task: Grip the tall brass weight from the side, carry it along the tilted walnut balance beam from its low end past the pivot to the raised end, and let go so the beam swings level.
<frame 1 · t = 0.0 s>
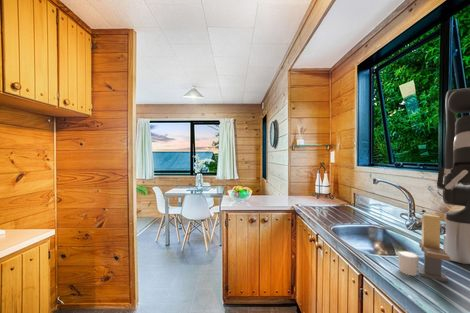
beam stand: (432, 275, 92), on the counter
beige short cylinder: (408, 272, 95), on the counter
brass weight: (430, 246, 97), point 10 cm above the counter, tilted 5°, touching beam
beam: (432, 250, 92), point 9 cm above the counter, hinge at 6.3°, touching brass weight
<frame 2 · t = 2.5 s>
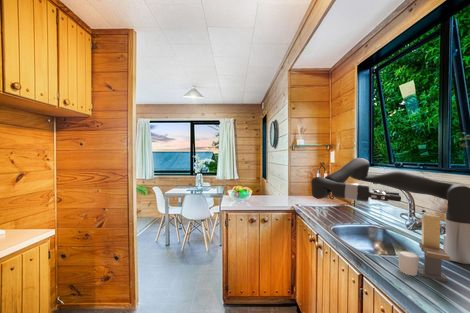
hand: (400, 197, 102), 28 cm above the counter, tool horizontal, fingers open, 8 cm apart
nothing on the counter moved.
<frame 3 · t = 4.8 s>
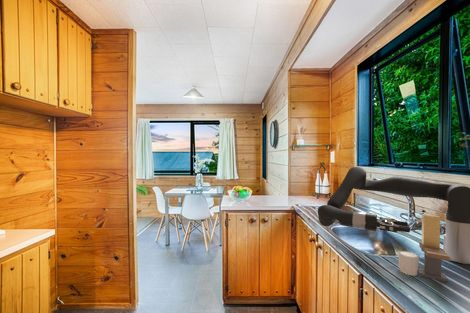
hand: (408, 227, 100), 16 cm above the counter, tool horizontal, fingers open, 8 cm apart
nothing on the counter moved.
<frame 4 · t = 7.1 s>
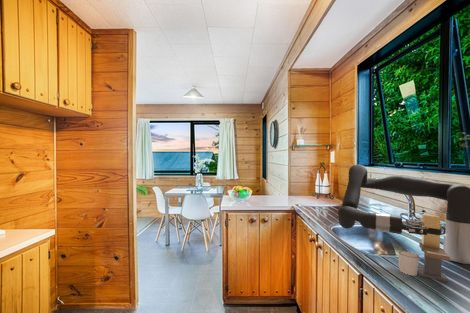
hand: (438, 230, 96), 16 cm above the counter, tool horizontal, fingers closed on brass weight, 5 cm apart
brass weight: (430, 246, 97), point 10 cm above the counter, tilted 6°, touching beam, gripper
everything else where it was.
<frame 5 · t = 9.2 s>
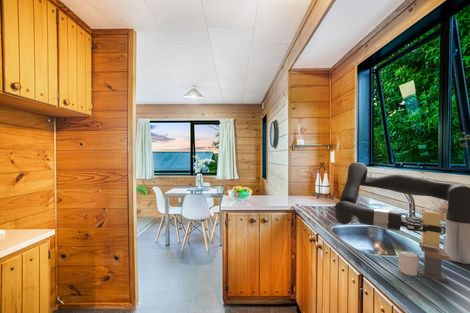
hand: (439, 227, 92), 18 cm above the counter, tool horizontal, fingers closed on brass weight, 5 cm apart
brass weight: (429, 243, 93), point 12 cm above the counter, tilted 6°, touching gripper
beam: (432, 250, 92), point 9 cm above the counter, hinge at 6.2°
everything else where it was.
when the fingers open (18 cm above the counter, at t = 11.8 s): brass weight stays where it is, resting on beam.
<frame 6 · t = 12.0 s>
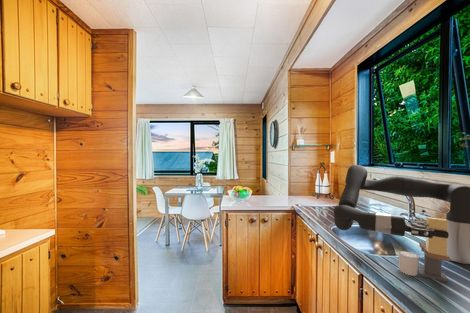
hand: (445, 232, 85), 19 cm above the counter, tool horizontal, fingers open, 6 cm apart
brass weight: (436, 253, 86), point 11 cm above the counter, tilted 6°, touching beam
beam: (432, 250, 92), point 9 cm above the counter, hinge at 5.4°, touching brass weight
everything else where it was.
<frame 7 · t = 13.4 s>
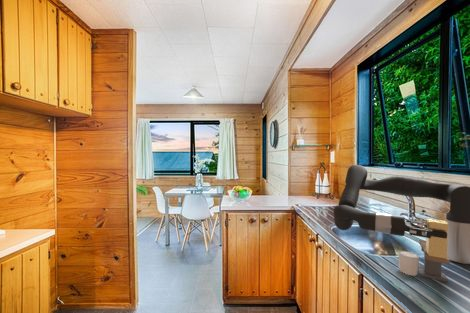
hand: (443, 232, 85), 19 cm above the counter, tool horizontal, fingers open, 8 cm apart
brass weight: (436, 255, 86), point 10 cm above the counter, touching beam
beam: (432, 250, 92), point 9 cm above the counter, hinge at -0.1°, touching brass weight
everything else where it was.
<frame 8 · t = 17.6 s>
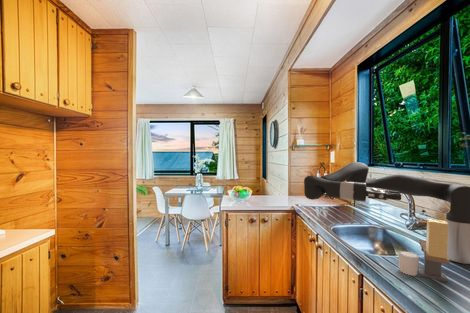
hand: (400, 195, 92), 30 cm above the counter, tool horizontal, fingers open, 8 cm apart
nothing on the counter moved.
at the end: beam at +0° (first picture: +6°); brass weight inside the target area on the beam (0.3 cm from its centre), point 0.7 cm above the beam's base; brass weight tilted 0° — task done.
